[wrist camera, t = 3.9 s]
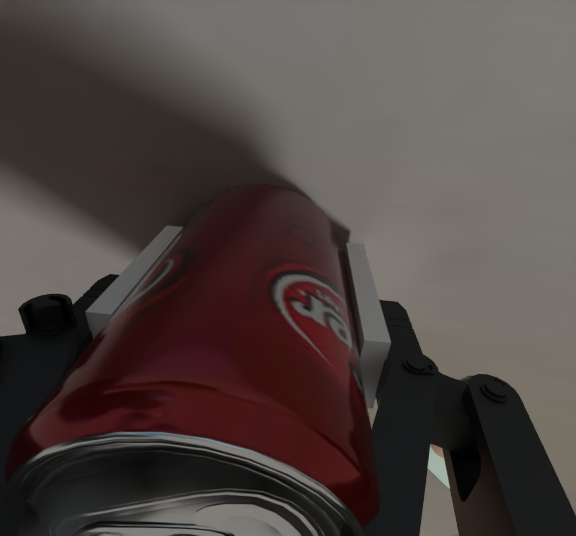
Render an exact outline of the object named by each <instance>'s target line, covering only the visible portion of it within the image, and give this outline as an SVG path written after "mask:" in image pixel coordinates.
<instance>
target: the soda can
mask: <svg viewBox="0 0 576 536" xmlns="http://www.w3.org/2000/svg"><path fill="white" fill-rule="evenodd" d="M4 474H5V478H6V481H7V486H6V489H5V492H4V501H11V500H13V499H14V498H16V497H18V495H19V494H20V492H29V496H28V499H29V500H31V501H33V502H34V503H35V507H36V510H37V514H38V516H39V518H40V520H41V522H42V524H43V526H44V528H45V530H46V532H47V534H48V536H340V534H341V531H342V529H343V527H349V528H350V530H351V532H352V534H353V535H354V536H365V532H364V529H363V528H364V527H365V526H366V525H367V524H368V523H369V522H370V521H371V520H372V519H373V518H374V517H375V516H376V515H377V514H378V512H379V509H380V505H381V494H380V488H379V481H378V475H377V469H376V462H375V456H374V450H373V443H372V437H371V425H370V419H369V413H368V407H367V400H366V394H365V388H364V382H363V376H362V369H361V363H360V357H359V351H358V344H357V338H356V332H355V326H354V319H353V313H352V307H351V301H350V294H349V288H348V282H347V276H346V269H345V263H344V257H343V251H342V247H341V243H340V238H339V236H338V234H337V232H336V230H335V228H334V226H333V224H332V223H331V221H330V220H329V219H328V217H327V216H326V215H325V213H324V212H323V211H322V210H321V209H320V208H319V207H317V206H316V205H315V204H314V203H313V202H312V201H311V200H309V199H307V198H305V197H304V196H302V195H300V194H298V193H297V192H294V191H291V190H289V189H286V188H283V187H280V186H273V185H266V184H253V185H243V186H239V187H236V188H232V189H229V190H227V191H225V192H223V193H221V194H219V195H217V196H215V197H213V198H212V199H211V200H210V201H208V202H207V203H206V204H205V205H203V206H202V207H201V208H200V210H199V211H198V212H197V213H196V215H195V216H194V217H193V218H192V219H191V221H190V222H189V223H188V224H187V226H186V227H185V228H184V229H183V231H182V232H181V233H180V234H179V235H178V237H177V238H176V239H175V240H174V242H173V243H172V244H171V245H170V246H169V248H168V249H167V250H166V251H165V253H164V254H163V255H162V256H161V257H160V259H159V260H158V261H157V262H156V264H155V265H154V266H153V267H152V268H151V270H150V271H149V272H148V273H147V275H146V276H145V277H144V278H143V279H142V281H141V282H140V283H139V284H138V286H137V287H136V288H135V289H134V291H133V292H132V293H131V294H130V295H129V297H128V298H127V299H126V300H125V302H124V303H123V304H122V305H121V306H120V308H119V309H118V310H117V311H116V313H115V314H114V315H113V316H112V317H111V319H110V320H109V321H108V322H107V324H106V325H105V326H104V327H103V328H102V330H101V331H100V332H99V333H98V335H97V336H96V337H95V338H94V339H93V341H92V342H91V343H90V344H89V346H88V347H87V348H86V349H85V351H84V352H83V353H82V354H81V355H80V357H79V358H78V359H77V360H76V362H75V363H74V364H73V365H72V366H71V368H70V369H69V370H68V371H67V373H66V374H65V375H64V376H63V377H62V379H61V380H60V381H59V382H58V384H57V385H56V386H55V387H54V388H53V390H52V391H51V392H50V393H49V395H48V396H47V397H46V398H45V399H44V401H43V402H42V403H41V404H40V406H39V407H38V408H37V409H36V411H35V412H34V413H33V414H32V415H31V417H30V418H29V419H28V420H27V422H26V423H25V424H24V426H23V427H22V428H21V430H20V431H19V432H18V433H17V435H16V436H15V437H14V439H13V442H12V445H11V448H10V451H9V455H8V458H7V462H6V465H5V469H4Z"/></svg>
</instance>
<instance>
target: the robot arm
mask: <svg viewBox="0 0 576 536" xmlns="http://www.w3.org/2000/svg"><path fill="white" fill-rule="evenodd" d="M183 229H184V227H179V226H169V225H167V226H166V227H165V228H164V229H163V230H162V231H161V232H160V233H159V234H158V235H157V236H156V237H155V238H154V239H153V240H152V242H151V243H150V244H149V245H148V246H147V247H146V248H145V249H144V250H143V251H142V252H141V253H140V254H139V255H138V256H137V257H136V258H135V260H134V261H133V262H132V263H131V264H130V265H129V266H128V267H127V268H126V269H125V270H124V271H123V272H122V273H121V274H120V275H114V274H110V275H108V276H106V277H104V278H102V279H100V280H98V281H97V282H96V283H95V284H94V285H93V286H92V287H91V288H90V290H88V291H87V292H86V293H85V294H84V295H83V297H80V298H79V299H78V300H77V301H76V302H75V303H74V304H73V305H72V301H71V299H70V298H69V297H68V296H66V295H62V294H47V295H41V296H38V297H35V298H33V299H30V300H29V301H27V302H25V303H23V304H22V305H21V307H20V308H19V309H18V310H19V313H20V316H21V319H22V321H23V324H24V327H25V330H26V334H20V335H11V336H1V337H0V536H48V534H47V532H46V530H45V528H44V526H43V524H42V522H41V520H40V518H39V516H38V514H37V510H36V507H35V503H34V502H33V501H31V500H29V499H28V496H29V492H20V494H19V495H18V497H16V498H14V499H13V500H11V501H4V492H5V489H6V486H7V481H6V478H5V474H4V469H5V465H6V462H7V458H8V455H9V451H10V448H11V445H12V442H13V439H14V437H15V436H16V435H17V433H18V432H19V431H20V430H21V428H22V427H23V426H24V424H25V423H26V422H27V420H28V419H29V418H30V417H31V415H32V414H33V413H34V412H35V411H36V409H37V408H38V407H39V406H40V404H41V403H42V402H43V401H44V399H45V398H46V397H47V396H48V395H49V393H50V392H51V391H52V390H53V388H54V387H55V386H56V385H57V384H58V382H59V381H60V380H61V379H62V377H63V376H64V375H65V374H66V373H67V371H68V370H69V369H70V368H71V366H72V365H73V364H74V363H75V362H76V360H77V359H78V358H79V357H80V355H81V354H82V353H83V352H84V351H85V349H86V348H87V347H88V346H89V344H90V343H91V342H92V341H93V339H94V338H95V337H96V336H97V335H98V333H99V332H100V331H101V330H102V328H103V327H104V326H105V325H106V324H107V322H108V321H109V320H110V319H111V317H112V316H113V315H114V314H115V313H116V311H117V310H118V309H119V308H120V306H121V305H122V304H123V303H124V302H125V300H126V299H127V298H128V297H129V295H130V294H131V293H132V292H133V291H134V289H135V288H136V287H137V286H138V284H139V283H140V282H141V281H142V279H143V278H144V277H145V276H146V275H147V273H148V272H149V271H150V270H151V268H152V267H153V266H154V265H155V264H156V262H157V261H158V260H159V259H160V257H161V256H162V255H163V254H164V253H165V251H166V250H167V249H168V248H169V246H170V245H171V244H172V243H173V242H174V240H175V239H176V238H177V237H178V235H179V234H180V233H181V232H182V231H183ZM344 263H345V269H346V276H347V282H348V288H349V294H350V301H351V307H352V313H353V319H354V326H355V332H356V338H357V344H358V351H359V357H360V363H361V369H362V376H363V382H364V388H365V394H366V400H367V407H368V408H373V405H374V402H375V398H376V399H377V404H378V410H377V413H376V416H375V420H374V423H373V426H372V430H371V437H372V443H373V450H374V456H375V462H376V469H377V475H378V481H379V488H380V494H381V505H380V509H379V512H378V514H377V515H376V516H375V517H374V518H373V519H372V520H371V521H370V522H369V523H368V524H367V525H366V526H365V527H364V528H363V529H364V532H365V536H419V534H420V526H421V517H422V509H423V501H424V493H425V485H426V477H427V469H428V460H429V452H430V444H433V445H436V446H438V447H441V448H442V450H443V456H444V461H445V466H446V471H447V476H448V481H449V486H450V491H451V496H452V501H453V506H454V511H455V516H456V522H457V527H458V532H459V536H576V515H575V513H574V511H573V509H572V507H571V504H570V502H569V500H568V498H567V496H566V494H565V492H564V490H563V487H562V485H561V483H560V481H559V479H558V477H557V475H556V473H555V470H554V468H553V466H552V464H551V462H550V460H549V458H548V456H547V453H546V451H545V449H544V447H543V445H542V443H541V441H540V439H539V436H538V434H537V432H536V430H535V428H534V426H533V424H532V422H531V419H530V417H529V415H528V413H527V411H526V409H525V407H524V404H523V402H522V400H521V398H520V396H519V395H518V393H517V392H516V391H515V389H514V388H512V387H511V386H510V385H509V384H508V383H506V382H504V381H503V380H501V379H499V378H497V377H494V376H491V375H487V374H477V375H474V376H472V377H471V378H470V380H469V381H468V383H466V382H463V381H460V380H457V379H454V378H451V377H448V376H446V375H443V374H441V373H440V372H439V371H438V367H437V366H436V364H435V363H434V362H433V361H432V360H431V359H429V358H428V357H427V356H425V355H423V353H422V351H421V348H420V345H419V343H418V340H417V338H416V335H415V332H414V330H413V329H412V325H411V322H410V321H409V320H410V319H409V317H408V314H407V312H406V310H405V309H404V308H403V307H402V306H401V305H400V304H399V303H398V302H394V301H384V300H379V298H378V295H377V291H376V287H375V284H374V280H373V277H372V273H371V270H370V266H369V263H368V259H367V256H366V252H365V249H364V245H363V244H354V243H346V247H345V253H344ZM340 536H354V535H353V534H352V532H351V530H350V528H349V527H343V529H342V531H341V534H340Z"/></svg>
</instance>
